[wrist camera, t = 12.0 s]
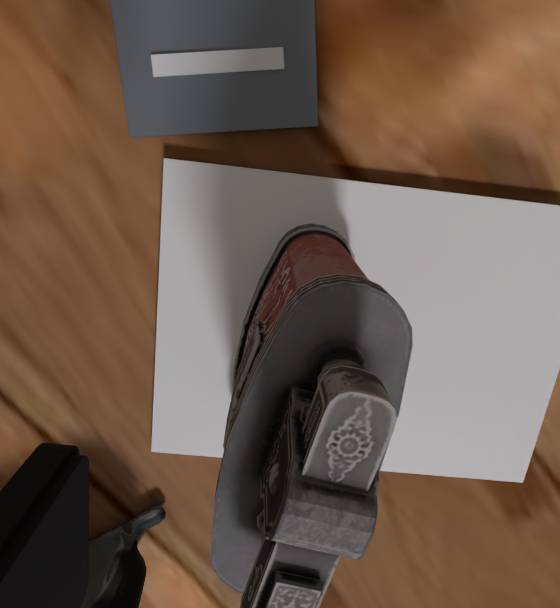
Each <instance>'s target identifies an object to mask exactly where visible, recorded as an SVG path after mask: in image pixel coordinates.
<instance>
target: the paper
mask: <svg viewBox="0 0 560 608" xmlns="http://www.w3.org/2000/svg"><path fill="white" fill-rule="evenodd" d="M310 223H312V224H319V225H325V226H327V227H329V228H331V229H333V230H335V231H337V232H338V233H339V234H340V235H341V236H342V237H343V238H344V239H345V240H346V241H347V242H348V244H349V245H350V247H351V249H352V251H353V253H354V255H355V262H356V264H357V265H358V266H359V268H360V269H361V270H362V272H363V273H364V274H365V275H366V277H367V278H368V279H369V280H370V281H372V282H374V283H377V284H379V285H380V286H381V287H383V288H384V289H385V290H386V291H387V292H388V293H389V294H390V295H391V296H392V297H393V298H394V299H395V300H396V301H397V303H398V304H399V305H400V306H401V307H402V309H403V310H404V312H405V314H406V316H407V318H408V320H409V322H410V325H411V327H412V342H413V346H412V351H411V356H410V361H409V366H408V371H407V376H406V381H405V386H404V391H403V396H402V401H401V406H400V411H399V415H398V418H397V421H396V424H395V428H394V431H393V434H392V436H391V439H390V442H389V445H388V448H387V451H386V454H385V457H384V460H383V463H382V466H381V469H380V471H389V472H401V473H413V474H425V475H437V476H449V477H461V478H473V479H485V480H497V481H509V482H521V483H523V481H524V478H525V475H526V472H527V469H528V465H529V462H530V459H531V456H532V453H533V450H534V447H535V444H536V441H537V437H538V434H539V431H540V428H541V425H542V422H543V419H544V416H545V412H546V409H547V406H548V403H549V400H550V397H551V394H552V391H553V387H554V384H555V381H556V378H557V375H558V372H559V369H560V205H554V204H546V203H538V202H529V201H521V200H513V199H504V198H496V197H488V196H479V195H471V194H463V193H454V192H446V191H438V190H429V189H421V188H412V187H404V186H396V185H387V184H379V183H371V182H362V181H354V180H346V179H337V178H329V177H321V176H312V175H304V174H296V173H287V172H279V171H271V170H262V169H254V168H245V167H237V166H229V165H220V164H212V163H204V162H195V161H187V160H179V159H170V158H164V165H163V189H162V212H161V236H160V259H159V283H158V306H157V330H156V353H155V377H154V401H153V424H152V448H151V452H161V453H173V454H185V455H197V456H209V457H221V458H223V453H224V448H223V443H224V436H225V429H226V422H227V416H228V412H229V407H230V402H231V396H232V383H233V371H234V364H235V358H236V354H237V349H238V344H239V340H240V335H241V330H242V326H243V321H244V318H245V315H246V313H247V310H248V307H249V305H250V302H251V299H252V297H253V294H254V292H255V289H256V286H257V284H258V281H259V279H260V277H261V275H262V273H263V271H264V269H265V267H266V265H267V263H268V262H269V260H270V258H271V256H272V254H273V252H274V250H275V248H276V246H277V244H278V242H279V241H280V239H281V238H282V237H283V236H284V235H285V233H286V232H287V231H289V230H291V229H293V228H294V227H296V226H299V225H304V224H310Z"/></svg>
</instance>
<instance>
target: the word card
mask: <svg viewBox="0 0 560 608" xmlns="http://www.w3.org/2000/svg"><path fill="white" fill-rule="evenodd" d="M110 3H111V10H112V17H113V24H114V30H115V37H116V44H117V51H118V58H119V65H120V72H121V79H122V86H123V93H124V99H125V106H126V113H127V120H128V127H129V134H130V137H131V138H133V137H150V136H166V135H183V134H199V133H216V132H232V131H248V130H265V129H281V128H298V127H314V126H318V96H317V65H316V33H315V2H314V0H110Z"/></svg>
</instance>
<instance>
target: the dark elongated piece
mask: <svg viewBox="0 0 560 608" xmlns="http://www.w3.org/2000/svg"><path fill="white" fill-rule="evenodd" d="M165 515H166V512H165V510H164V509H163V507H162V506H160V505H158V506H155V507H152V508H151V509H149V510H147V511H145V512H143V513H142V514H140V515H138V516H136V517H135V518H133V519H132V520H130V521H128V522H127V523H125V524H123V525H121V526H119V527H117V528H115V529H113V530H111V531H110V532H108V533H106V534H104V535H102V536H100V537H98V538H96V539H93V540H90V541H89V580H88V586H87V591H86V594H85V597H84V600H83V603H82V605H81V607H80V608H138V607H139V603H140V598H141V594H142V590H143V586H144V582H145V577H146V565H145V562H144V559H143V557H142V556H141V554H140V552H139V551H138V549H137V543H138V539H139V537H140V536H141V535H142V534H143V532H144V531H146V530H147V529H149V528H151V527H153V526H155V525H157V524H159V523H161V521H162V520H164V519H165Z"/></svg>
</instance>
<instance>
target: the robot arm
mask: <svg viewBox="0 0 560 608" xmlns="http://www.w3.org/2000/svg"><path fill="white" fill-rule="evenodd" d="M88 580H89V460H88V457H87V456H82V455H80V454H79V449H78V447H76V446H71V445H61V444H52V443H42V444H40V445H39V446H38V447H37V448H36V449H35V451H34V452H33V453H32V454H31V455H30V456H29V458H28V459H27V460H26V461H25V462H24V464H23V465H22V466H21V467H20V468H19V470H18V471H17V472H16V473H15V474H14V476H13V477H12V478H11V479H10V480H9V482H8V483H7V484H6V485H5V486H4V488H3V489H2V490H1V491H0V608H80V607H81V605H82V603H83V600H84V597H85V594H86V591H87V586H88Z"/></svg>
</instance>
